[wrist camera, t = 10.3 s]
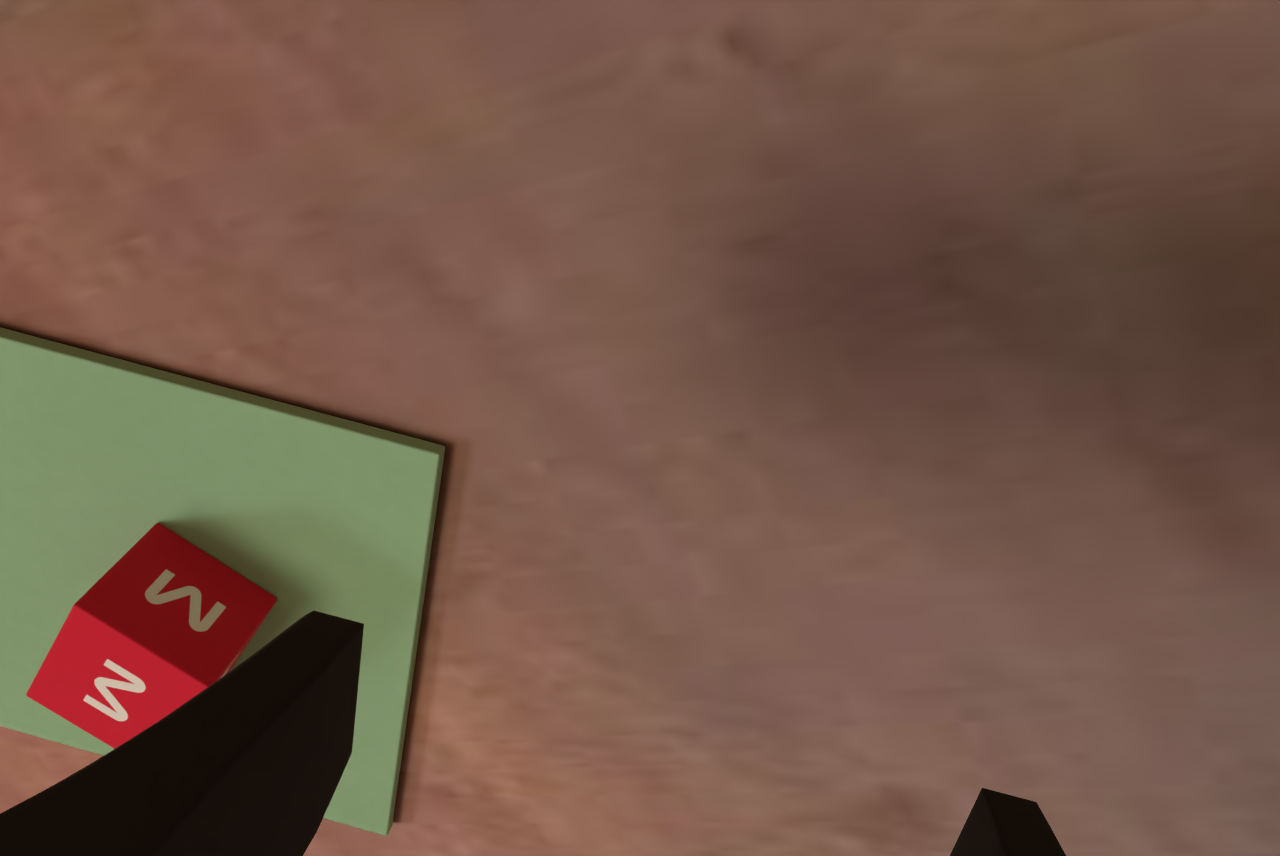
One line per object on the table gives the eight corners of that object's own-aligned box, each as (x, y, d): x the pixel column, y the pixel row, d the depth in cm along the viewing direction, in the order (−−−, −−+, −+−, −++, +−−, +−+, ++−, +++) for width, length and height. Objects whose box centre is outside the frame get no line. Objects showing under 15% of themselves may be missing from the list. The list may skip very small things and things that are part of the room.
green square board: (392, 824, 28) (386, 837, 28) (10, 715, 28) (-1, 726, 28) (446, 445, 23) (439, 455, 22) (-26, 319, 23) (-38, 327, 23)
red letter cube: (224, 679, 26) (154, 773, 23) (109, 608, 26) (24, 695, 23) (278, 597, 25) (210, 688, 22) (157, 521, 24) (73, 604, 22)
